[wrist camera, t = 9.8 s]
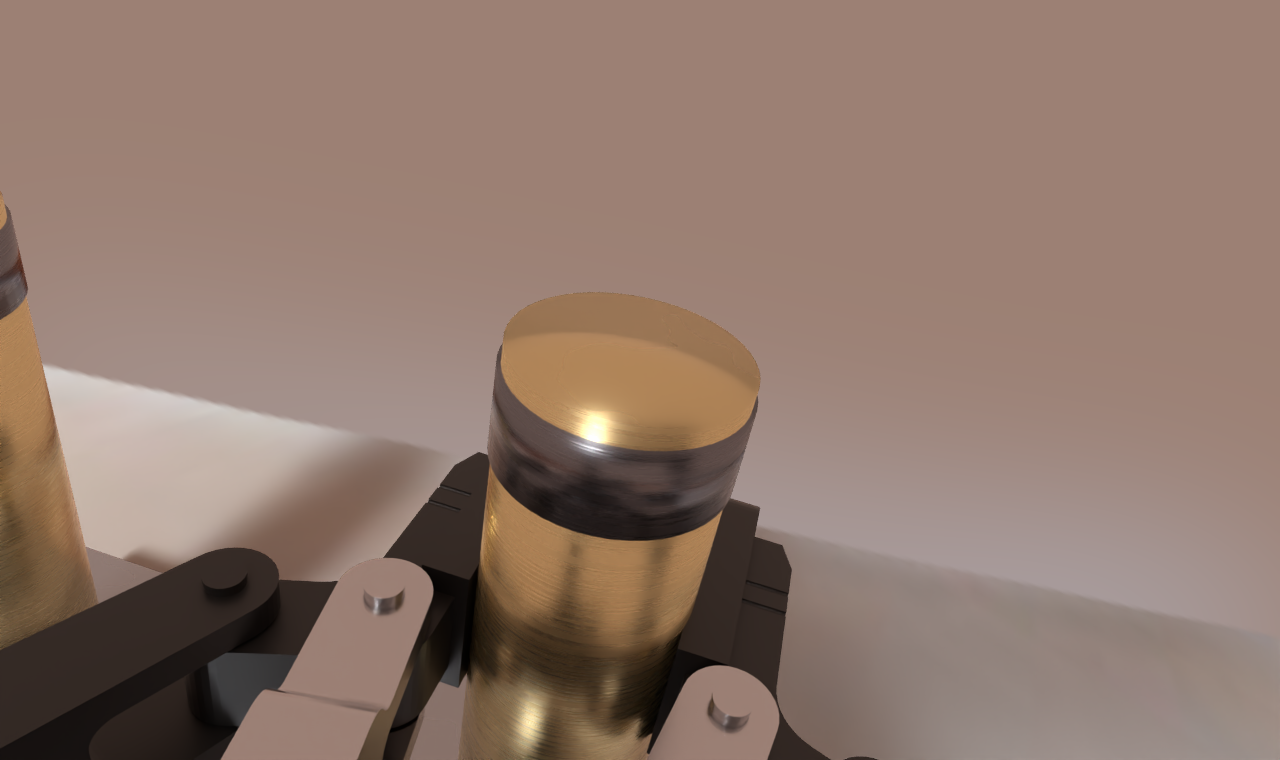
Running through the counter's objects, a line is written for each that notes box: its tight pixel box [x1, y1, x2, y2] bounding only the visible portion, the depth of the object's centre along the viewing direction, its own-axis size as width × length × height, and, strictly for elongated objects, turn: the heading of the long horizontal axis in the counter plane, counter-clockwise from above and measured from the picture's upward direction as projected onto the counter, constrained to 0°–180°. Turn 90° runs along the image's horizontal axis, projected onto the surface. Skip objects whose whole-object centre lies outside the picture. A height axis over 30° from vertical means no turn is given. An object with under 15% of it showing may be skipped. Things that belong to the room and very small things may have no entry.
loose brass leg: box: [458, 292, 760, 760], centre depth 12 cm, size 3×3×11 cm
